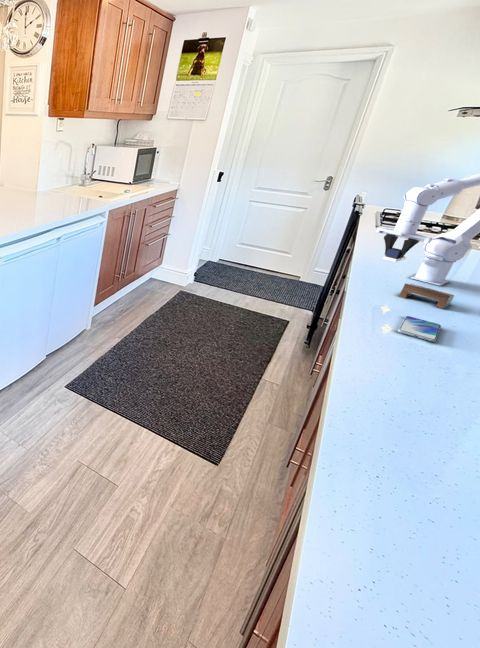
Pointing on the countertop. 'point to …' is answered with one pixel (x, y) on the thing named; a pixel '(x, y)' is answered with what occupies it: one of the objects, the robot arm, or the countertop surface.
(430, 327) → the smartphone
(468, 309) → the countertop surface
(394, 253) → the trainer
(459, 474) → the countertop surface
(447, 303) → the shoe shelf
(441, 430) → the countertop surface
